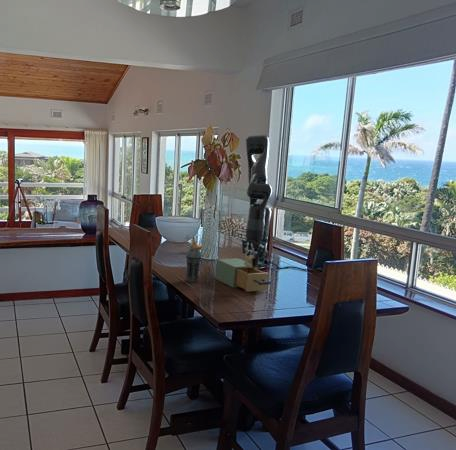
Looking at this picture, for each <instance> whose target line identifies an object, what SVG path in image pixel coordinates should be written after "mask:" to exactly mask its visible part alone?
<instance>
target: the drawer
mask: <svg viewBox="0 0 456 450" xmlns="http://www.w3.org/2000/svg"><path fill="white" fill-rule="evenodd" d="M269 277H270V272H264V271H262V270H261V269H255V268H239V269H236V275H235V285H237V286H239V287H238V288H241V289H243V290H244V292H247V293H248V292H260V291H261V292H262V291H268V285H270V284H271V281H270V280H269Z"/></svg>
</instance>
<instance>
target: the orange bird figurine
mask: <svg viewBox="0 0 456 450" xmlns="http://www.w3.org/2000/svg"><path fill="white" fill-rule="evenodd" d="M189 238H190V236H189V234H186V238H185V239H184V243H185V244H186V245H188V247H187V249H189V250H190V249H192V248H193V245H194V242H190V239H189ZM186 240H187V241H188V243H187V242H186ZM202 246H203V245H200V244H198V243H197V241H196V240H195V248H197V249H199V250H200V251H201V248H202Z"/></svg>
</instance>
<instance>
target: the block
mask: <svg viewBox="0 0 456 450" xmlns="http://www.w3.org/2000/svg"><path fill="white" fill-rule="evenodd" d="M253 259H254V258H253V255H245V254H244V265H246V266H248V267H252V263H253ZM258 261H259V259H258ZM257 267H258V265H257Z"/></svg>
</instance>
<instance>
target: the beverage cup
mask: <svg viewBox="0 0 456 450" xmlns="http://www.w3.org/2000/svg"><path fill="white" fill-rule="evenodd" d="M195 241H196V240H195V238H194V239H193V244H194V245H193V244H192V245H193V248H192V249H191V248H190V249H189V250H188V251H187V253H186V256H185V257H186V281H187V282H188V283H197V282H198V278H199V273H200V266H201V262H202V259H203V255H202V251H201V250H199V249H197V248H195Z"/></svg>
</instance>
